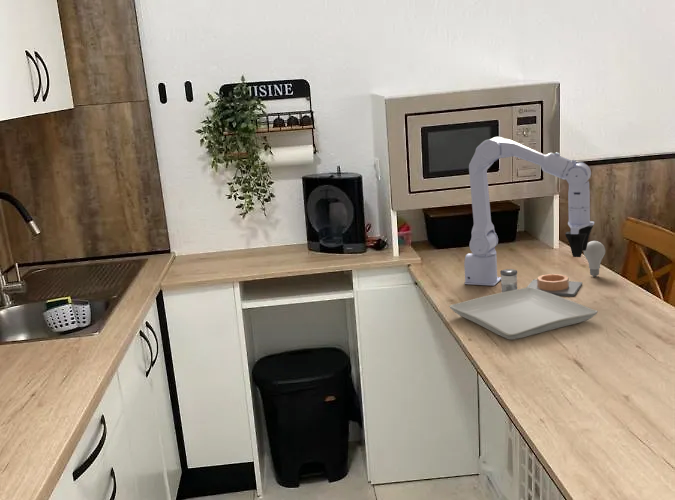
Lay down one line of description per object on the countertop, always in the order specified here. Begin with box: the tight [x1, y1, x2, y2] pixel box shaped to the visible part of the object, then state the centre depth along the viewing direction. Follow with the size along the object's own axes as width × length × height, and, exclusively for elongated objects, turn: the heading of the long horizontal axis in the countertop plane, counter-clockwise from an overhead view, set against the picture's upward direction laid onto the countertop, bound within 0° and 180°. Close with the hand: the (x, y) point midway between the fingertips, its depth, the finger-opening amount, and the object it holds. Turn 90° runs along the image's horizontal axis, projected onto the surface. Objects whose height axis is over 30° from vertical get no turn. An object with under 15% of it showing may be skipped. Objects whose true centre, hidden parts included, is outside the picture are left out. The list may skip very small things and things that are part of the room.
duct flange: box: [525, 273, 583, 298], centre depth 209 cm, size 14×12×3 cm
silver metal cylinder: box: [499, 268, 518, 293], centre depth 207 cm, size 5×5×7 cm
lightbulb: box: [583, 240, 606, 278], centre depth 217 cm, size 6×6×11 cm
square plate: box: [448, 286, 599, 341], centre depth 186 cm, size 27×27×4 cm
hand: (579, 253), depth 206 cm, fingers open, 7 cm apart
